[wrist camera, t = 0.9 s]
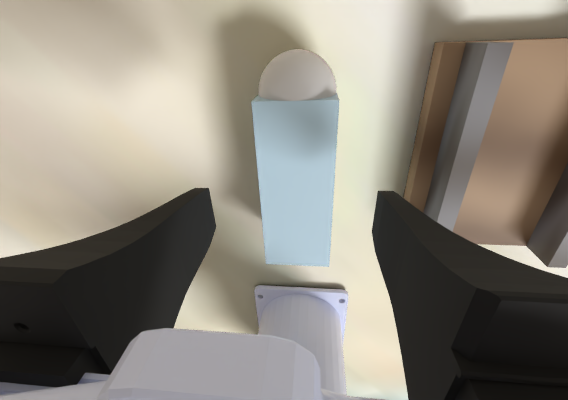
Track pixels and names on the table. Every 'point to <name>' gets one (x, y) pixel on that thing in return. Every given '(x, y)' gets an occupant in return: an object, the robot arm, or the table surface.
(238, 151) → the table surface
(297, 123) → the dome-topped blue pillar
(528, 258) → the table surface
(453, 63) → the cradle
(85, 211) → the table surface
